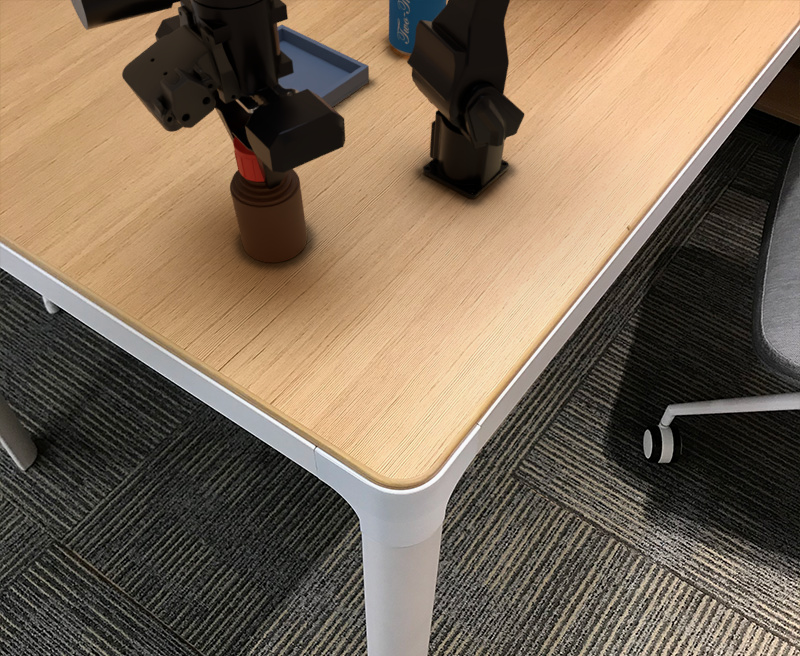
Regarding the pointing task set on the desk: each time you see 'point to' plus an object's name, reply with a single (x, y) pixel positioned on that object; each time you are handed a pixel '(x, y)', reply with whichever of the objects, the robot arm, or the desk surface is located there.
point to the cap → (247, 162)
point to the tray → (320, 68)
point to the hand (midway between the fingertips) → (261, 173)
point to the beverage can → (409, 20)
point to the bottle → (270, 217)
